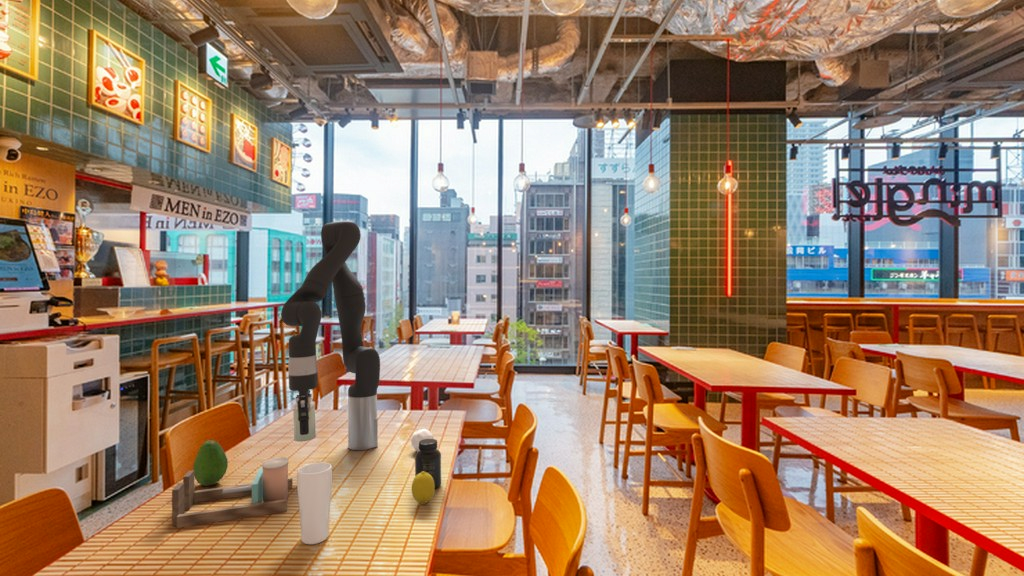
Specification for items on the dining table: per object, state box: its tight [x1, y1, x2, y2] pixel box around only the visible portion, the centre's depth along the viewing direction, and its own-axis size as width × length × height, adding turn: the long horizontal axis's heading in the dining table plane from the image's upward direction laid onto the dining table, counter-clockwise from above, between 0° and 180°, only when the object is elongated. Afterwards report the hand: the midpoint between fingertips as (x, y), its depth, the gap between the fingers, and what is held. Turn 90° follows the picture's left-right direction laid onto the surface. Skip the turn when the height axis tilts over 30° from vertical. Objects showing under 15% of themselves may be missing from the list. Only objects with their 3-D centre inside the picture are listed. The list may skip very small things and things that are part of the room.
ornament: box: [410, 427, 434, 452], centre depth 152 cm, size 7×7×8 cm
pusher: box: [222, 467, 263, 504], centre depth 114 cm, size 8×11×6 cm
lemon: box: [411, 471, 436, 505], centre depth 114 cm, size 6×6×8 cm
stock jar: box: [261, 456, 289, 503], centre depth 117 cm, size 6×6×10 cm
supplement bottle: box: [414, 438, 442, 491], centre depth 125 cm, size 7×7×12 cm
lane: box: [171, 469, 294, 529], centre depth 114 cm, size 23×14×8 cm, turn 110°
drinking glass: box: [296, 461, 333, 545], centre depth 99 cm, size 7×7×15 cm
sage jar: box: [292, 400, 317, 443], centre depth 133 cm, size 6×6×10 cm
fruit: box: [192, 439, 229, 487], centre depth 127 cm, size 8×8×12 cm
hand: (305, 430), depth 133 cm, fingers closed on sage jar, 5 cm apart
